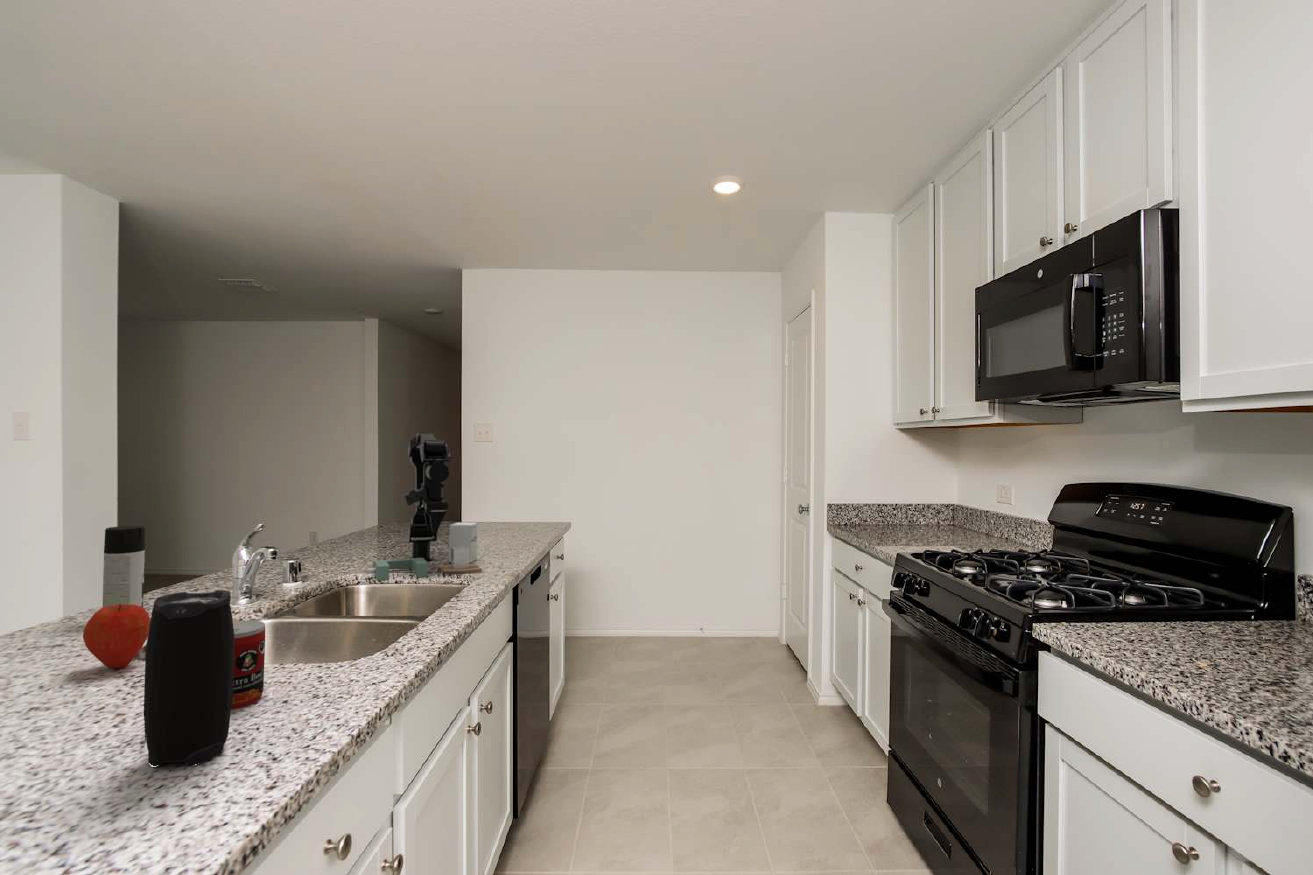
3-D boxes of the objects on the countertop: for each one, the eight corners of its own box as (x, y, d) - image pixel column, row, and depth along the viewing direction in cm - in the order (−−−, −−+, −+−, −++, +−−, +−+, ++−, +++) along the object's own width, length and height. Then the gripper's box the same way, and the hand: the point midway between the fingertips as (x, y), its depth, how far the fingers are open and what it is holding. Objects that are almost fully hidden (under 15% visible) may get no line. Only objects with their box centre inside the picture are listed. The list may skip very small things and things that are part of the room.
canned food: (217, 716, 88) (219, 637, 89) (191, 703, 93) (193, 628, 93) (274, 698, 95) (276, 625, 95) (247, 686, 99) (249, 616, 99)
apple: (70, 678, 101) (72, 611, 101) (101, 661, 109) (103, 598, 109) (133, 674, 103) (135, 608, 103) (159, 657, 111) (161, 596, 112)
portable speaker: (240, 733, 83) (245, 586, 83) (214, 768, 74) (220, 603, 75) (163, 741, 81) (168, 589, 81) (127, 778, 72) (133, 607, 72)
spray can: (149, 620, 134) (152, 526, 135) (111, 628, 128) (114, 530, 129) (132, 615, 137) (135, 524, 138) (94, 623, 131) (97, 527, 131)
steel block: (450, 566, 194) (451, 547, 194) (465, 565, 196) (465, 546, 196) (453, 569, 190) (453, 549, 190) (468, 567, 192) (469, 548, 192)
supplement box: (470, 563, 205) (471, 525, 205) (447, 563, 205) (448, 524, 205) (477, 559, 212) (478, 522, 212) (455, 559, 212) (456, 521, 212)
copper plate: (437, 568, 195) (438, 565, 195) (473, 566, 201) (473, 562, 201) (444, 575, 186) (444, 571, 186) (481, 572, 191) (481, 569, 191)
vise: (363, 571, 189) (364, 558, 189) (420, 567, 196) (420, 554, 196) (367, 581, 175) (367, 567, 175) (427, 576, 183) (428, 563, 183)
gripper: (401, 479, 197) (400, 528, 197) (409, 482, 180) (407, 536, 180) (438, 478, 202) (437, 527, 202) (449, 482, 186) (447, 535, 185)
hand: (431, 531), depth 192 cm, fingers open, 9 cm apart
